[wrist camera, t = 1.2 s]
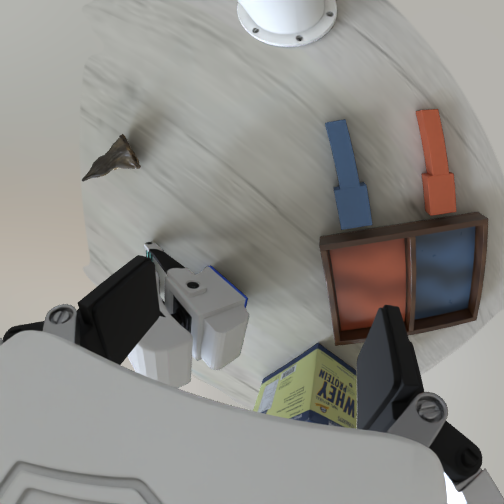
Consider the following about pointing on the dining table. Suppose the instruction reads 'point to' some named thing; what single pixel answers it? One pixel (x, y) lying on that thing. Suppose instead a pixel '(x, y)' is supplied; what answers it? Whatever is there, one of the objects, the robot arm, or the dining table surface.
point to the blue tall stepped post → (348, 179)
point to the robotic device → (190, 323)
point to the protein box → (311, 390)
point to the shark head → (114, 159)
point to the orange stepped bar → (435, 165)
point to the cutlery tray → (406, 274)
